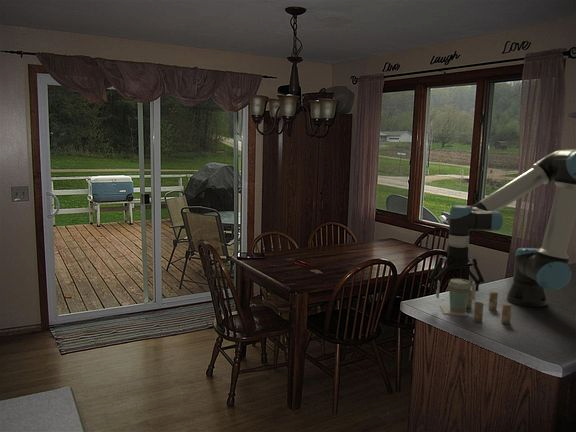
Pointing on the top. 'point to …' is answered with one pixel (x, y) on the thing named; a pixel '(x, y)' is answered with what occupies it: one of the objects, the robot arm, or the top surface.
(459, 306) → the coffee cup
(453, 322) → the top surface
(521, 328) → the top surface
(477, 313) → the spacer posts
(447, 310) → the felt mat
